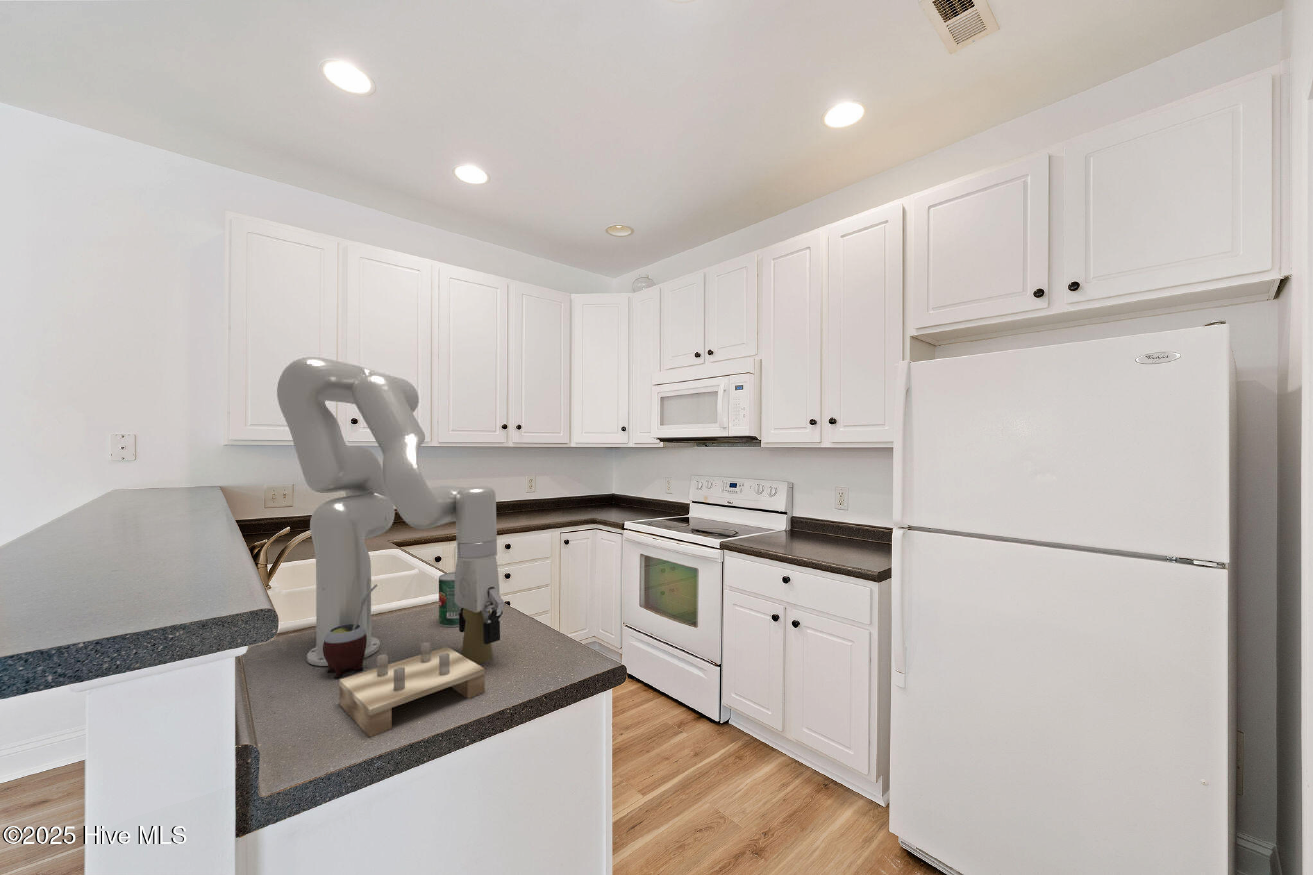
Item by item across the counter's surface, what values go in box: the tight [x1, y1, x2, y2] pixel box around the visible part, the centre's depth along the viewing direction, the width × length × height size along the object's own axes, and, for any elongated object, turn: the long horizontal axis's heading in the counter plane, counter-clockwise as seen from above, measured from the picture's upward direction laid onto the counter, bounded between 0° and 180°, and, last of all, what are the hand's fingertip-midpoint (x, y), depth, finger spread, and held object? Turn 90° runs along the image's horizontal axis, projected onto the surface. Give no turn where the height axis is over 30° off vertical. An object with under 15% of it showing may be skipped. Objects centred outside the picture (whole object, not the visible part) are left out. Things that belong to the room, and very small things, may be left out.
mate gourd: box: [323, 584, 378, 680], centre depth 97 cm, size 8×8×15 cm
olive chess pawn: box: [460, 605, 494, 665], centre depth 102 cm, size 6×6×11 cm
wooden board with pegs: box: [338, 641, 486, 738], centre depth 86 cm, size 14×18×7 cm
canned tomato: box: [438, 571, 459, 628], centre depth 122 cm, size 8×8×11 cm
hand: (479, 636), depth 102 cm, fingers open, 9 cm apart
